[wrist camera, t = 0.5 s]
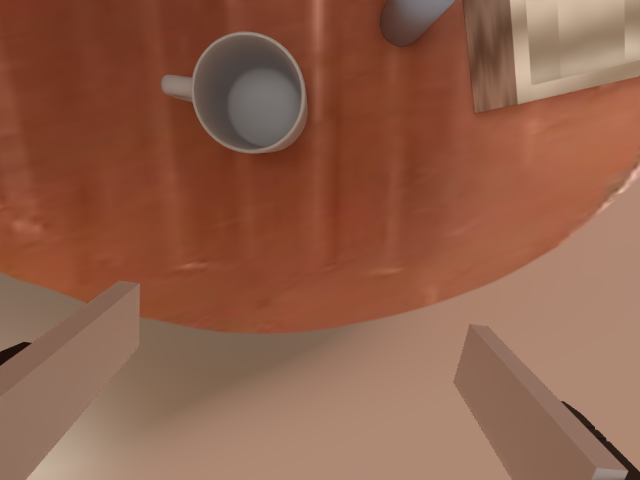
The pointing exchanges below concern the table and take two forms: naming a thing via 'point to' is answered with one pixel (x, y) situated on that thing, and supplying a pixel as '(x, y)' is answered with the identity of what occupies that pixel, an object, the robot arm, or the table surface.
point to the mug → (246, 93)
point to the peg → (410, 19)
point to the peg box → (548, 47)
